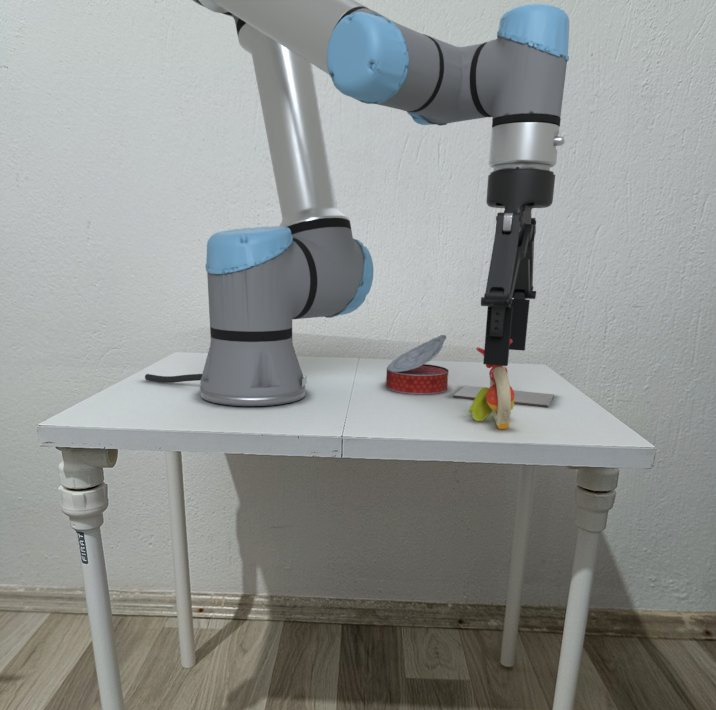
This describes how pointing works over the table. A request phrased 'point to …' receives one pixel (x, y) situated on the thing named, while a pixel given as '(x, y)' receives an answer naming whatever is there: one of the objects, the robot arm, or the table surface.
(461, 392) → the flat grey rectangular slab
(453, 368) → the table surface
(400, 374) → the canned food
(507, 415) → the bird rattle
